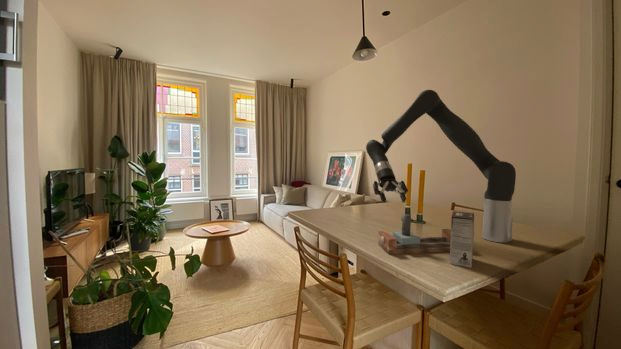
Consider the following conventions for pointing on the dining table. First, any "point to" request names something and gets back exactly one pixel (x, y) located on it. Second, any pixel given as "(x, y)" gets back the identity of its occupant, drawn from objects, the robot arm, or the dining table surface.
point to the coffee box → (462, 239)
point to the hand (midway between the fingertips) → (394, 201)
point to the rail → (425, 246)
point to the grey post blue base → (406, 232)
